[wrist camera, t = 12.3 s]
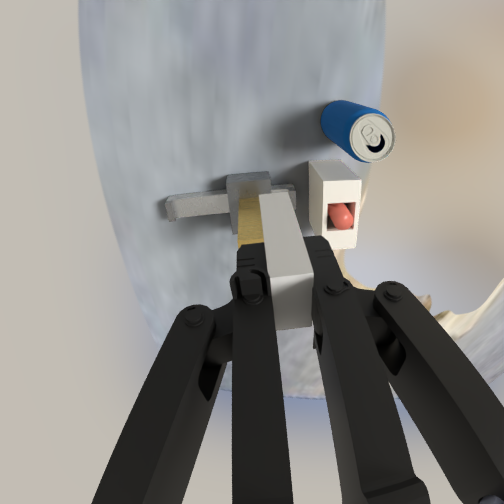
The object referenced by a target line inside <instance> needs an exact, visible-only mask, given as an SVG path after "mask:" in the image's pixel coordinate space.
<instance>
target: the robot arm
mask: <svg viewBox="0 0 504 504" xmlns="http://www.w3.org/2000/svg"><path fill="white" fill-rule="evenodd" d="M259 201H260V210H261V219H262V228H263V237H264V242H261V243H252V244H243V245H241V247H240V248H239V250H238V251H237V271H236V272H235V273H234V274H233V275H232V276H231V278H230V281H229V282H230V287H231V291H232V296H233V299H232V300H231V301H230V302H229V303H228V304H226V305H224V306H222V307H220V308H217V309H214V310H211V309H210V308H208V307H207V306H204V305H201V304H199V305H191V306H188V307H186V308H184V309H183V310H181V311H180V313H179V314H178V315H177V317H176V319H175V321H174V323H173V325H172V327H171V329H170V331H169V333H168V335H167V337H166V339H165V341H164V343H163V345H162V347H161V349H160V351H159V353H158V355H157V357H156V359H155V361H154V363H153V365H152V367H151V369H150V372H149V374H148V376H147V378H146V380H145V382H144V384H143V386H142V388H141V391H140V393H139V395H138V397H137V399H136V402H135V404H134V406H133V408H132V410H131V412H130V414H129V417H128V419H127V421H126V423H125V426H124V428H123V430H122V433H121V435H120V437H119V439H118V442H117V444H116V446H115V448H114V451H113V453H112V455H111V457H110V460H109V462H108V465H107V467H106V469H105V472H104V474H103V476H102V479H101V481H100V484H99V486H98V489H97V491H96V493H95V496H94V498H93V501H92V503H91V504H182V501H183V498H184V495H185V492H186V489H187V486H188V483H189V480H190V477H191V474H192V471H193V468H194V465H195V461H196V459H197V455H198V453H199V449H200V446H201V443H202V440H203V437H204V434H205V431H206V428H207V425H208V421H209V418H210V416H211V412H212V409H213V406H214V403H215V399H216V397H217V394H218V391H219V387H220V384H221V381H222V378H223V375H224V372H225V369H226V365H227V362H229V361H232V504H293V492H292V481H291V470H290V460H289V449H288V440H287V429H286V419H285V410H284V400H283V390H282V381H281V372H280V363H279V354H278V345H277V336H276V331H277V330H286V329H294V328H302V327H310V326H312V320H313V325H314V340H313V349H316V350H317V355H318V360H319V365H320V370H321V375H322V380H323V385H324V391H325V396H326V401H327V407H328V412H329V418H330V423H331V429H332V435H333V441H334V447H335V453H336V459H337V465H338V472H339V479H340V486H341V492H342V504H430V498H429V494H428V490H427V487H426V486H425V484H424V482H423V481H422V480H420V479H419V478H418V477H416V475H415V474H414V470H413V467H412V463H411V459H410V454H409V451H408V447H407V443H406V439H405V435H404V433H403V428H402V425H401V421H400V418H399V414H398V411H397V408H396V404H395V401H394V398H393V395H392V391H391V388H390V385H389V383H390V384H391V386H392V387H393V389H394V391H395V392H396V394H397V395H398V397H399V398H400V400H401V402H402V403H403V405H404V407H405V408H406V410H407V411H408V413H409V415H410V416H411V418H412V420H413V421H414V423H415V424H416V426H417V428H418V429H419V431H420V433H421V434H422V436H423V438H424V439H425V441H426V443H427V444H428V446H429V448H430V449H431V451H432V453H433V455H434V456H435V458H436V460H437V462H438V463H439V465H440V467H441V469H442V470H443V472H444V474H445V476H446V477H447V479H448V481H449V483H450V485H451V486H452V488H453V490H454V492H455V493H456V494H457V496H458V498H459V499H460V500H461V501H462V503H463V504H504V407H503V405H502V404H501V403H500V401H499V400H498V398H497V397H496V396H495V394H494V393H493V391H492V390H491V389H490V387H489V386H488V384H487V383H486V382H485V380H484V379H483V378H482V376H481V375H480V374H479V372H478V371H477V370H476V368H475V367H474V366H473V364H472V363H471V362H470V361H469V359H468V358H467V357H466V356H465V354H464V353H463V352H462V351H461V349H460V348H459V347H458V346H457V344H456V343H455V342H454V341H453V340H452V338H451V337H450V336H449V335H448V334H447V332H446V331H445V330H444V329H443V328H442V326H441V325H440V324H439V323H438V322H437V321H436V319H435V318H434V317H433V316H432V315H431V314H430V313H429V312H428V310H427V309H426V308H425V307H424V306H423V305H422V304H421V303H420V301H419V300H418V299H417V298H416V297H415V296H414V295H413V294H412V293H411V292H410V291H409V289H408V288H407V287H405V286H404V285H403V284H401V283H398V282H395V281H387V282H382V283H381V284H379V285H378V286H377V288H376V289H375V291H373V290H364V289H358V288H356V287H353V285H352V284H351V282H350V281H349V280H347V279H346V278H344V277H343V275H342V272H341V270H340V267H339V265H338V263H337V260H336V258H335V256H334V253H333V251H332V248H331V246H330V244H329V241H328V240H326V239H325V238H324V237H323V236H321V235H318V236H309V237H302V233H301V230H300V227H299V224H298V221H297V218H296V215H295V212H294V209H293V206H292V203H291V200H290V197H289V194H288V192H280V193H271V194H261V195H259ZM388 381H389V382H388Z"/></svg>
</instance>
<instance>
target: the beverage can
mask: <svg viewBox="0 0 504 504" xmlns="http://www.w3.org/2000/svg"><path fill="white" fill-rule="evenodd" d="M321 127H322V130H323V132H324V134H325V135H326V136H327V137H328V138H329V139H330V140H332V141H333V142H334V143H335V144H337V145H338V146H339V147H340V148H342V149H343V150H344V151H345V152H347V153H348V154H349V155H350V156H352V157H353V158H354V159H356V160H358V161H361V162H366V163H371V162H379V161H381V160H383V159H385V158H386V157H387V156H389V154H390V153H391V152H392V150H393V148H394V145H395V131H394V128H393V126H392V124H391V122H390V121H389V119H388V118H387V117H386V116H385V115H384V114H383V113H382V112H380V111H378V110H376V109H373V108H369V107H366V106H363V105H359V104H356V103H352V102H349V101H344V100H339V101H335V102H332V103H331V104H329V105H328V106H327V107H326V108H325V109H324V111H323V113H322V116H321Z"/></svg>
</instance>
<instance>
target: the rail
mask: <svg viewBox="0 0 504 504" xmlns="http://www.w3.org/2000/svg"><path fill="white" fill-rule="evenodd" d="M271 192H272V193H280V192H288V194H289V197H290V200H291V203H292V206H293V209H294V210H296V190H295V188H294V185H293V184H279V185H271ZM165 207H166V212H167V216H168V220H169V222H172V221H175V220H176V218H182V217H191V216H200V215H209V214H219V213H229V212H230V211H229V203H228V196H227V189H223V190H213V191H205V192H196V193H188V194H180V195H172V196H169V197H168V199H167V201H166V202H165Z"/></svg>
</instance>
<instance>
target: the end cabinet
mask: <svg viewBox="0 0 504 504" xmlns="http://www.w3.org/2000/svg"><path fill="white" fill-rule="evenodd" d="M361 184H362V180H361V179H360V178H359V177H358V176H357V175H356V174H355V173H354V172H353V171H352V170H351V169H350V168H349V167H348V166H347V165H346V164H345V163H344V162H343V161H342V160H313V161H309V222H310V224H311V227H312V229H313V232H314V234H315V236H318V235H321V236H323V237H324V238H325V239H326V240H328V241H329V244H330V246H331V248H332V250H337V249H348V248H356V239H357V230H358V220H359V210H360V198H361ZM329 203H344V204H345V206H346V207H347V209H348V210H349V212H350V213H351V215H352V216H353V224H352V226H351V227H350V228H348V229H346V230H339V229H337V228H336V227H335V225H334V223H333V222H332V220H331V218H330V216H327V207H328V204H329Z"/></svg>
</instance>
